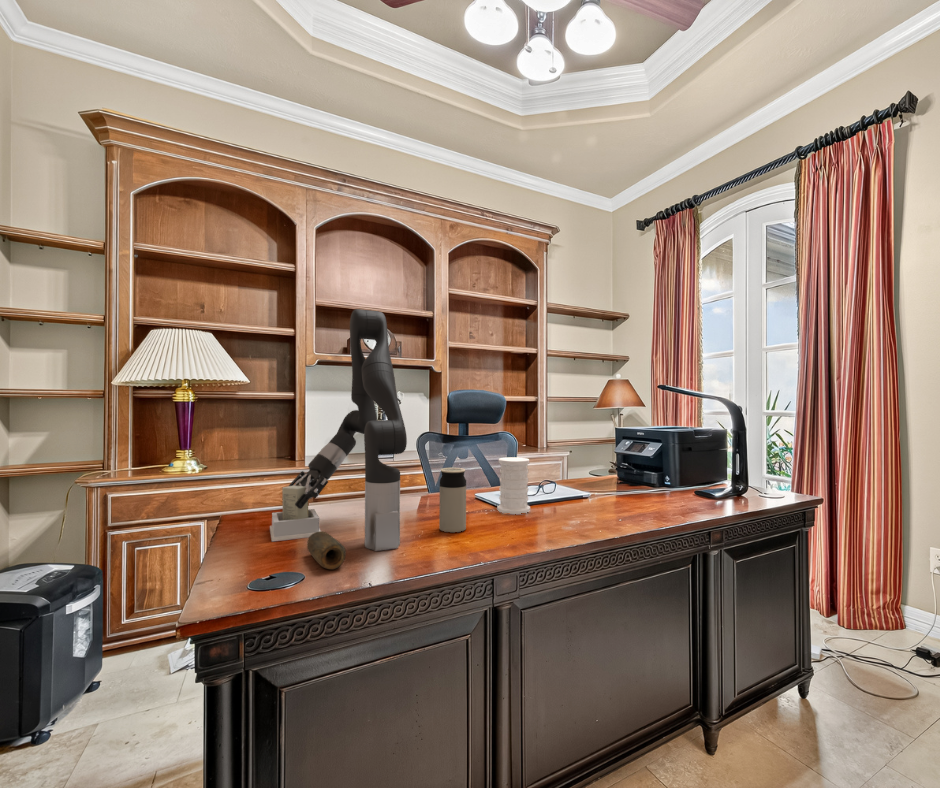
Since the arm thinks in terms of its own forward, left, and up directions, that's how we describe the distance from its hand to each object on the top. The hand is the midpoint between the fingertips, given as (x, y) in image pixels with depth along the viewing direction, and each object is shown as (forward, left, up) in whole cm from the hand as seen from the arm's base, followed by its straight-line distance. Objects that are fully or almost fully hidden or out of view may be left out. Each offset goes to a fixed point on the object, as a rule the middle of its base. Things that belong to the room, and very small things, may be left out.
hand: (290, 504), depth 134 cm
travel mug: (-16, -44, -9) cm, 48 cm away
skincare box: (+1, -1, -8) cm, 8 cm away
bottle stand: (0, -1, -8) cm, 9 cm away
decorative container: (-3, -73, -9) cm, 74 cm away
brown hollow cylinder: (-28, -6, -9) cm, 30 cm away
